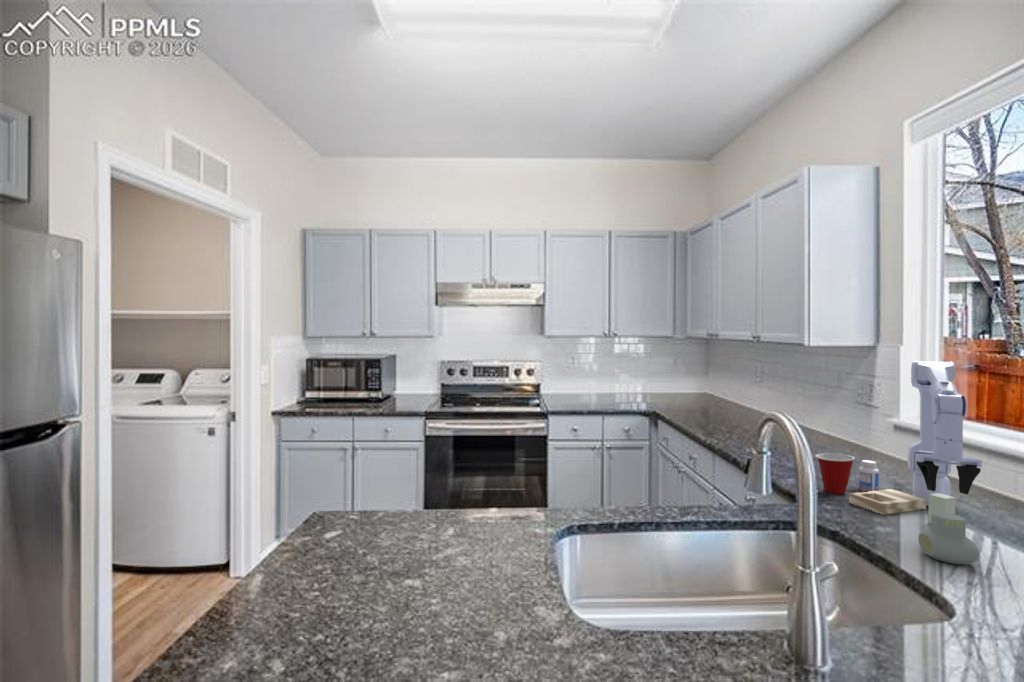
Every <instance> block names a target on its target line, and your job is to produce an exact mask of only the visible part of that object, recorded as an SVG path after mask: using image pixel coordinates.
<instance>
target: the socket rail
mask: <svg viewBox="0 0 1024 682" xmlns="http://www.w3.org/2000/svg"><path fill="white" fill-rule="evenodd" d="M848 500H849V502H848V503H849V504H850V503H851V505H853V504H854V506H856V505H857V506H856V507H859V506H860V507H859V508H862V507H863V508H862V509H865V508H866V509H865V510H868V509H869V510H868V511H871V510H872V512H874V513H876V514H877V513H878V514H879V513H880V515H890V514H899V513H907V511H908V512H913V510H916V511H921V510H920V509H924V510H927V506H926V499H924V498H921V497H917V496H914V495H913V494H910V493H906V492H903V491H900V490H896V489H894V488H893V489H892V488H890V489H889V488H887V489H879V490H878V491H868V492H865V491H861V492H852V493H851V492H850V493H849V499H848Z"/></svg>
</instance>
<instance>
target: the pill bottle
mask: <svg viewBox="0 0 1024 682" xmlns="http://www.w3.org/2000/svg"><path fill="white" fill-rule="evenodd" d="M858 468H859V469H858V489H859V488H860V489H862V490H865V491H878V490H880V470H879V468H877V462H876V461H874V460H868V459H862V460H861V466H860V467H858ZM860 489H859V490H860ZM862 490H861V491H862ZM865 491H864V492H865Z"/></svg>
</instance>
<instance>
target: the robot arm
mask: <svg viewBox="0 0 1024 682" xmlns="http://www.w3.org/2000/svg"><path fill="white" fill-rule="evenodd" d="M910 372H911V374H910V375H911V377H910V380H911V381H910V382H911V386H912V387H913V388H916V389H918V391H919V392H918V393H919V395H920V396H919V397H920V400H919V401H920V402H919V403H920V405H919V410H920V412H919V413H920V414H919V420H920V421H919V441H917V442H915V443H913V444H911V445H910V446H909V447H908V454H907V468H908V469H909V471H911V472H912V473H913V474H912V475H913V476H912V495H914V496H917V497H921V498H924V499H926V507H929V494H935V493H941V494H944V495H948V496H951V491H952V490H951V488H952V483H951V481H950V479H949V478H948V477H947V476H949V475H950V474H951V472H952V465H954V466H955V467H956V470H957V475H958V491H959V493H960V494H964V495H969V493H970V490H971V487H972V485H973V483H974V480H976V478H977V477H978V475H979V474H980V473H981V471H982V470H981V469H982V467H983V460H982V459H979V458H971V457H963V453H964V452H963V451H964V450H963V448H964V447H963V446H964V445H963V443H964V441H963V440H964V436H963V435H964V433H963V432H964V418H965V416H966V414H967V405H968V404H967V398H966V396H965V395H964V394H959V392H958V389H957V387H956V384H954V383H953V382H955V379H956V366H955V363H954V362H953V361H932V360H931V361H927V360H925V361H924V360H914V361H912V362H911V369H910ZM931 452H932V453H931Z"/></svg>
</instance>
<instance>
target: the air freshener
mask: <svg viewBox="0 0 1024 682" xmlns="http://www.w3.org/2000/svg"><path fill="white" fill-rule="evenodd" d="M930 525H931V526H930V529H925V530H923V531H921V532H920V533H919V534H918V537H917V538H918V539H917V540H918V544H919V546H920V548H921V550H922V551H923V552H924V553H925V554H926V555H928V556H929V557H930V558H931V559H933V558H934V559H933V560H936V561H939V562H942V561H943V562H944V563H946V564H952V565H961V564H963V565H969V564H973V563H975V562H977V561H978V560H979V559H980V550H979V548H978V547H977V544H976V543H975V542H974V541H973V540H972V539H970V538H969V537H967V536H966V535H967V534H966V528H967V527H966V526H967V523H966V518H964V517H962V516H960V515H958V514H956V513H955V514H951V513H945V512H934V513H932V522H931V524H930ZM943 562H942V563H943ZM961 566H962V565H961Z"/></svg>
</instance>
